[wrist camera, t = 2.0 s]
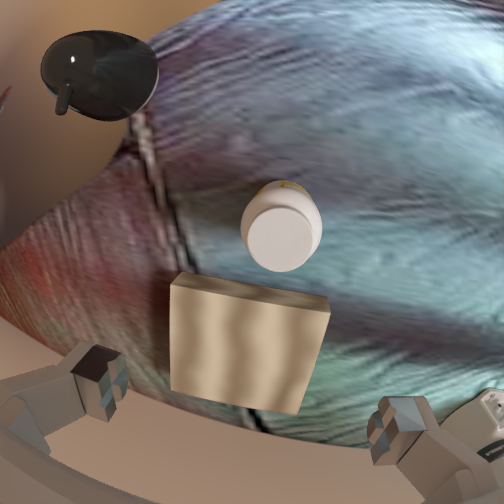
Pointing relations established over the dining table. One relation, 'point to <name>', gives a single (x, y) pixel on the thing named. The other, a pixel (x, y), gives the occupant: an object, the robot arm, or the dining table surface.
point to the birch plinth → (244, 342)
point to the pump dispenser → (100, 74)
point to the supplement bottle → (281, 226)
